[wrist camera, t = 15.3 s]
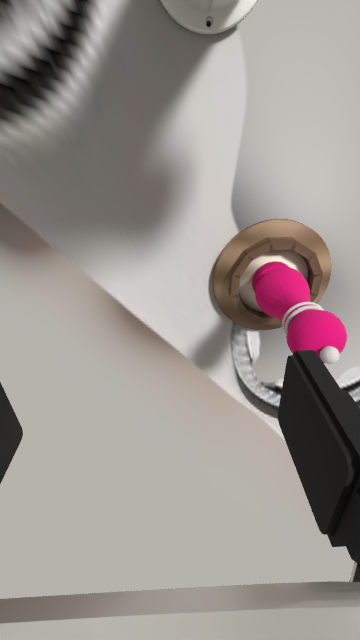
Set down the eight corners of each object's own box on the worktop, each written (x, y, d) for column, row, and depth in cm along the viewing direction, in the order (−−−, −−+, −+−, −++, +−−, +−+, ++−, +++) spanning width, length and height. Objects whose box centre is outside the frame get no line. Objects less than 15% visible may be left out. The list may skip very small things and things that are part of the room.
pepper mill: (278, 307, 50) (339, 396, 32) (239, 291, 48) (282, 375, 31) (305, 268, 46) (387, 343, 29) (264, 250, 45) (327, 318, 27)
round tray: (216, 219, 44) (219, 225, 41) (340, 218, 44) (352, 223, 41) (210, 327, 53) (212, 337, 50) (313, 325, 53) (321, 335, 50)
